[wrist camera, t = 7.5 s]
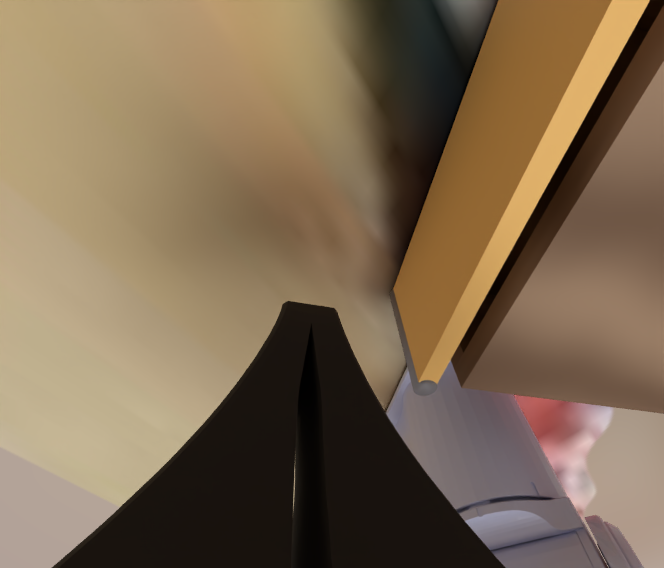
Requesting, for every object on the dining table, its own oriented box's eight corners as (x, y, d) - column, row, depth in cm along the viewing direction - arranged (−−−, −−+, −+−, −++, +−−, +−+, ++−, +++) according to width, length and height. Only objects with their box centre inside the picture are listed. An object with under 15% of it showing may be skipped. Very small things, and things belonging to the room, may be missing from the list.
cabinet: (578, 314, 21) (671, 414, 16) (423, 289, 20) (461, 387, 14) (788, 40, 14) (1123, 40, 8) (556, -27, 12) (753, -85, 7)
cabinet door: (404, 302, 20) (432, 397, 15) (387, 299, 20) (409, 394, 15) (536, -31, 12) (704, -90, 7) (509, -39, 12) (659, -105, 7)
